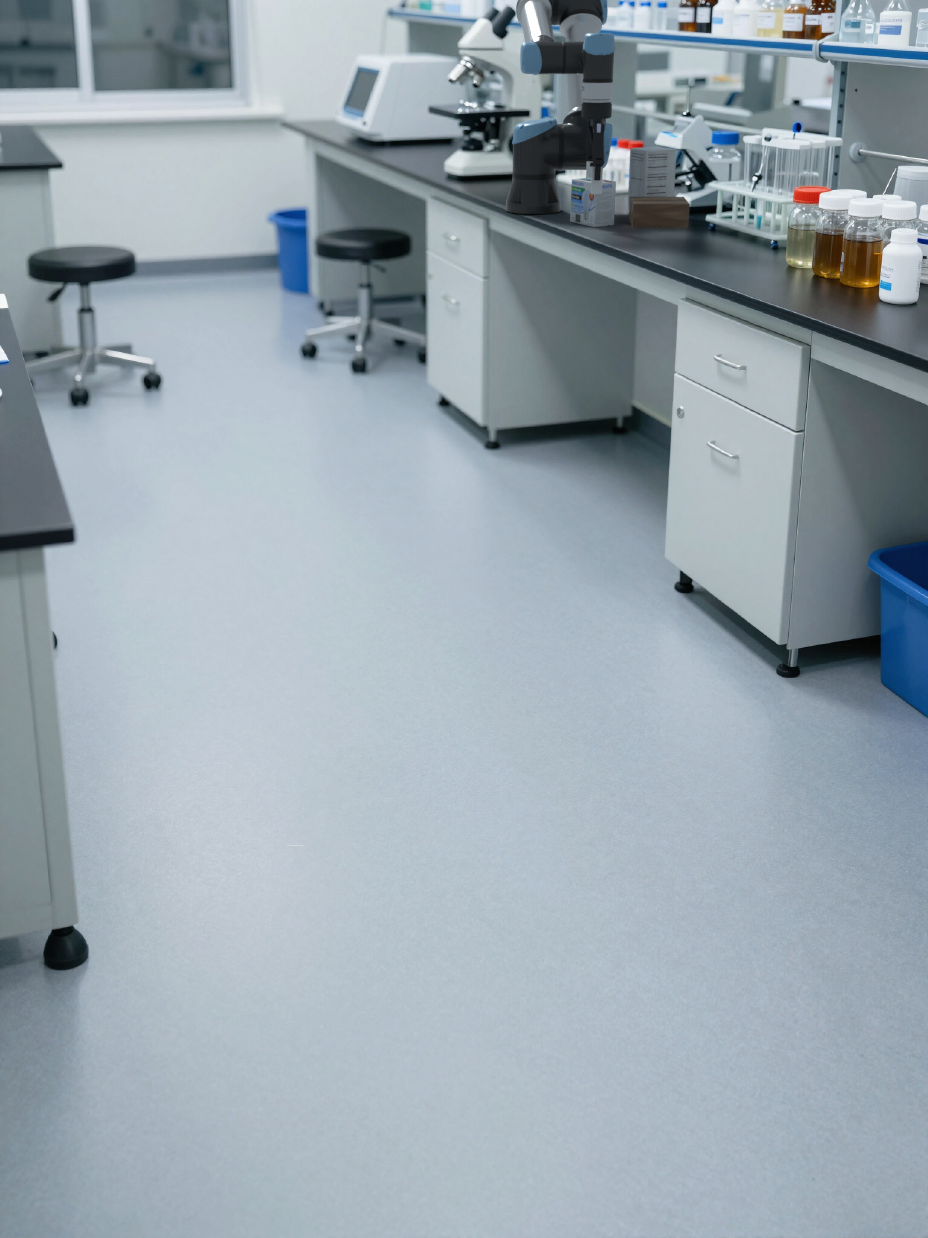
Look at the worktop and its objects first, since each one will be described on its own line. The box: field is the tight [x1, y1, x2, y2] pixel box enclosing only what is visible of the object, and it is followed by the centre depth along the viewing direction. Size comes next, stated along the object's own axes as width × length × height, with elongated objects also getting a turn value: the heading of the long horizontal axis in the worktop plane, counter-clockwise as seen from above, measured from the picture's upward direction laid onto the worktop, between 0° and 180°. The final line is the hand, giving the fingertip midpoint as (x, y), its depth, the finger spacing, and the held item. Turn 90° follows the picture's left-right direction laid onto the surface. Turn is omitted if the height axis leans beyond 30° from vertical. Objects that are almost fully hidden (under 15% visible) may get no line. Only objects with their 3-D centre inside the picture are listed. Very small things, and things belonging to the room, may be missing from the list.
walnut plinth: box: [628, 196, 691, 229], centre depth 326 cm, size 14×14×6 cm
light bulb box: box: [569, 177, 617, 228], centre depth 325 cm, size 11×7×11 cm, turn 33°
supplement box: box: [626, 146, 677, 215], centre depth 337 cm, size 10×9×17 cm
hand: (593, 190), depth 323 cm, fingers open, 13 cm apart
